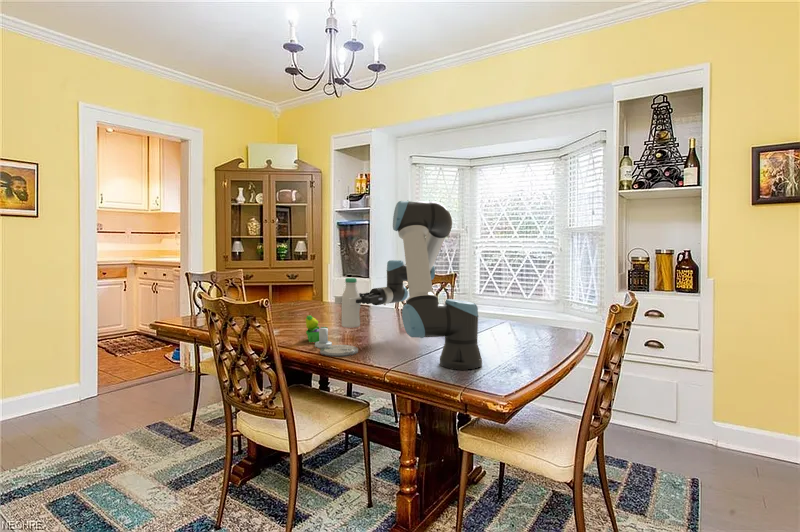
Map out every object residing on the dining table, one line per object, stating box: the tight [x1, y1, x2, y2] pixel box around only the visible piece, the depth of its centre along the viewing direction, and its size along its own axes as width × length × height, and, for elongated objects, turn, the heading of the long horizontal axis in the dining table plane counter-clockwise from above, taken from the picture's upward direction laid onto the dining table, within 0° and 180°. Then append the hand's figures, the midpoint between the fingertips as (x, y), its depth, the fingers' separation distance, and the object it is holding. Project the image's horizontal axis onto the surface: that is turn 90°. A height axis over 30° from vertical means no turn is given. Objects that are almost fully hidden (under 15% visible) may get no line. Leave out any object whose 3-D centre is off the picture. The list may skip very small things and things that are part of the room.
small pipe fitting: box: [314, 328, 333, 349], centre depth 189 cm, size 7×7×8 cm
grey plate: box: [319, 344, 359, 358], centre depth 180 cm, size 15×15×2 cm
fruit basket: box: [305, 315, 328, 342], centre depth 200 cm, size 11×9×11 cm
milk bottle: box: [341, 277, 361, 329], centre depth 187 cm, size 8×8×20 cm
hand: (342, 301), depth 184 cm, fingers closed on milk bottle, 7 cm apart
